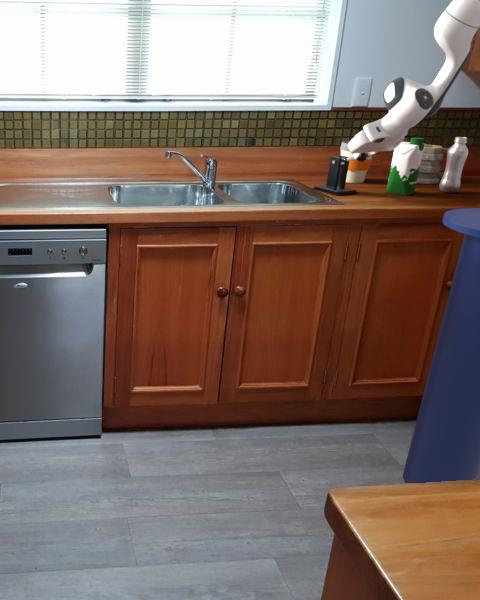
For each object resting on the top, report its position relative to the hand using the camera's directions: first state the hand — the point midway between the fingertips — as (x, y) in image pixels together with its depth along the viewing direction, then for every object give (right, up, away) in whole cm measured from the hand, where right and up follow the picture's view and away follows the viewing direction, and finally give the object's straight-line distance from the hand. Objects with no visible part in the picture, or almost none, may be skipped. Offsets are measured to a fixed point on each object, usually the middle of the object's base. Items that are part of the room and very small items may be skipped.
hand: (360, 156), depth 214 cm
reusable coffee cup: (+11, -2, +32) cm, 34 cm away
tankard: (+43, -3, +31) cm, 53 cm away
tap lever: (-1, -2, +4) cm, 5 cm away
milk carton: (+20, -11, +12) cm, 25 cm away
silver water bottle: (+39, -10, +13) cm, 42 cm away
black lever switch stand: (-4, -10, +13) cm, 17 cm away
